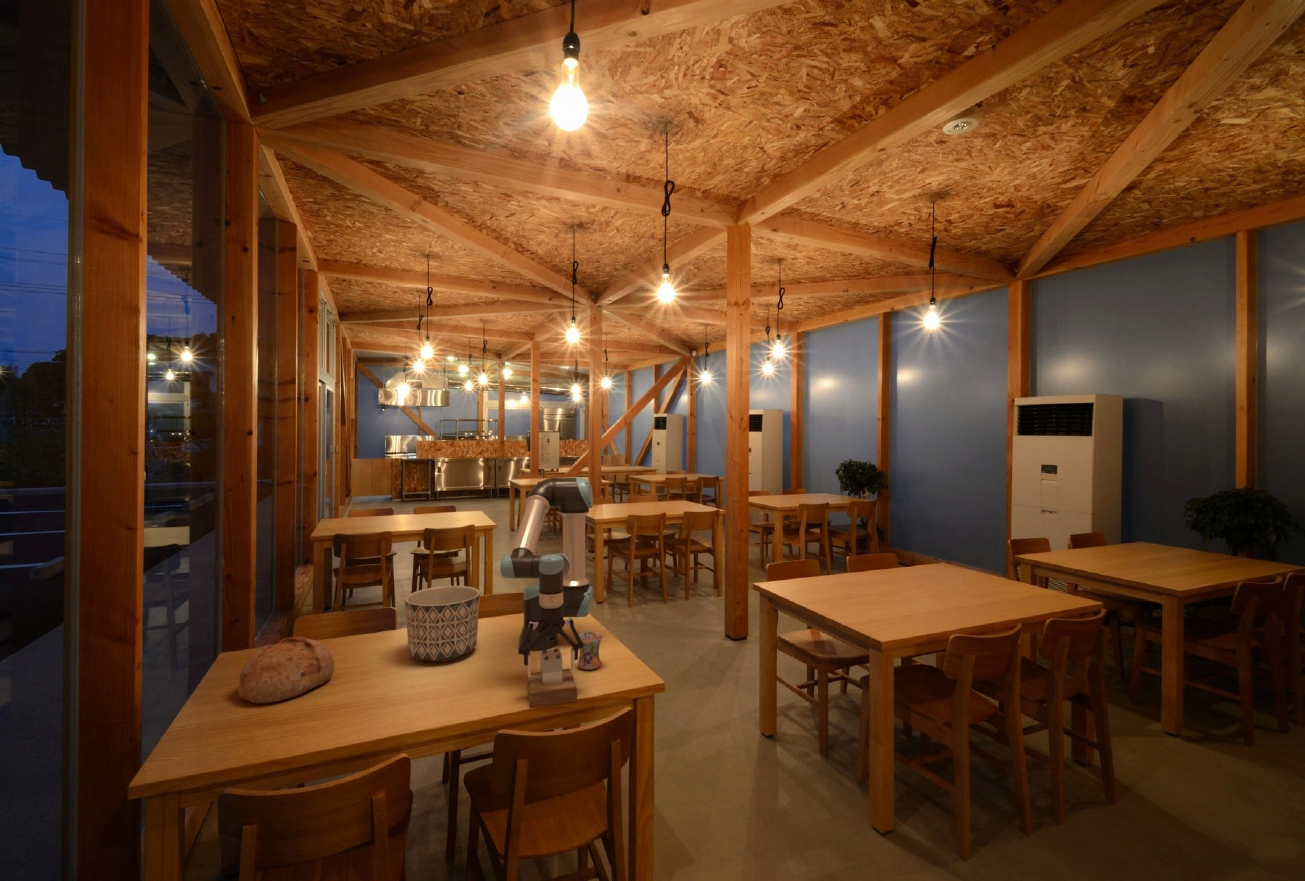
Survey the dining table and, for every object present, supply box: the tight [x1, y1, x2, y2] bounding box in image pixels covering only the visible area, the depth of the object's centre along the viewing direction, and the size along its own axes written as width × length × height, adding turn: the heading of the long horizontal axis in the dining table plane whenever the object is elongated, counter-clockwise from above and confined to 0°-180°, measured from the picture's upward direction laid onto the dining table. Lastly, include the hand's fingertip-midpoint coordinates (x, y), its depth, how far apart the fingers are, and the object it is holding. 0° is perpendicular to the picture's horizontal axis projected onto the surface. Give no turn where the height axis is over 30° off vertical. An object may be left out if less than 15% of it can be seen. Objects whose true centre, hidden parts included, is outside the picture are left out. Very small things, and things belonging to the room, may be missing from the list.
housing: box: [539, 648, 563, 686], centre depth 174 cm, size 8×6×8 cm
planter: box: [404, 585, 481, 663], centre depth 205 cm, size 26×26×22 cm
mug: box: [576, 631, 603, 671], centre depth 196 cm, size 12×9×11 cm
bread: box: [237, 636, 335, 704], centre depth 178 cm, size 26×23×15 cm
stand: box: [526, 668, 578, 709], centre depth 174 cm, size 15×14×4 cm
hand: (551, 672), depth 174 cm, fingers open, 13 cm apart
